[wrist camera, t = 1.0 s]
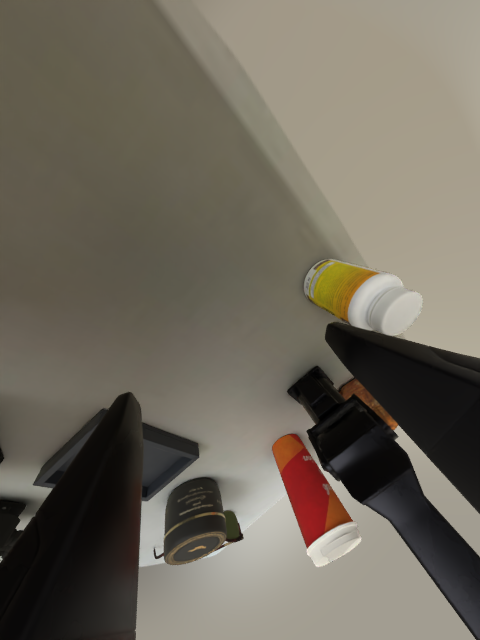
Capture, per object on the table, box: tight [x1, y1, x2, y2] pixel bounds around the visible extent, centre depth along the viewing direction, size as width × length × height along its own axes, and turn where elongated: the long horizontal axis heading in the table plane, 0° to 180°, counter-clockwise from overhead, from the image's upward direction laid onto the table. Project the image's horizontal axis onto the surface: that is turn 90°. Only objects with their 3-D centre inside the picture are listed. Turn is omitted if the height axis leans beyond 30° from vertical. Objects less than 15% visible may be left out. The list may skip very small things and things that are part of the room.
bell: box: [339, 379, 398, 430], centre depth 36 cm, size 12×12×7 cm
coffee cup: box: [272, 434, 362, 567], centre depth 33 cm, size 8×8×15 cm
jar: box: [164, 478, 227, 565], centre depth 34 cm, size 10×10×8 cm
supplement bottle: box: [304, 259, 423, 336], centre depth 20 cm, size 6×6×10 cm
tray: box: [33, 409, 199, 501], centre depth 27 cm, size 16×12×2 cm
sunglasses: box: [154, 510, 243, 559], centre depth 43 cm, size 14×15×5 cm
